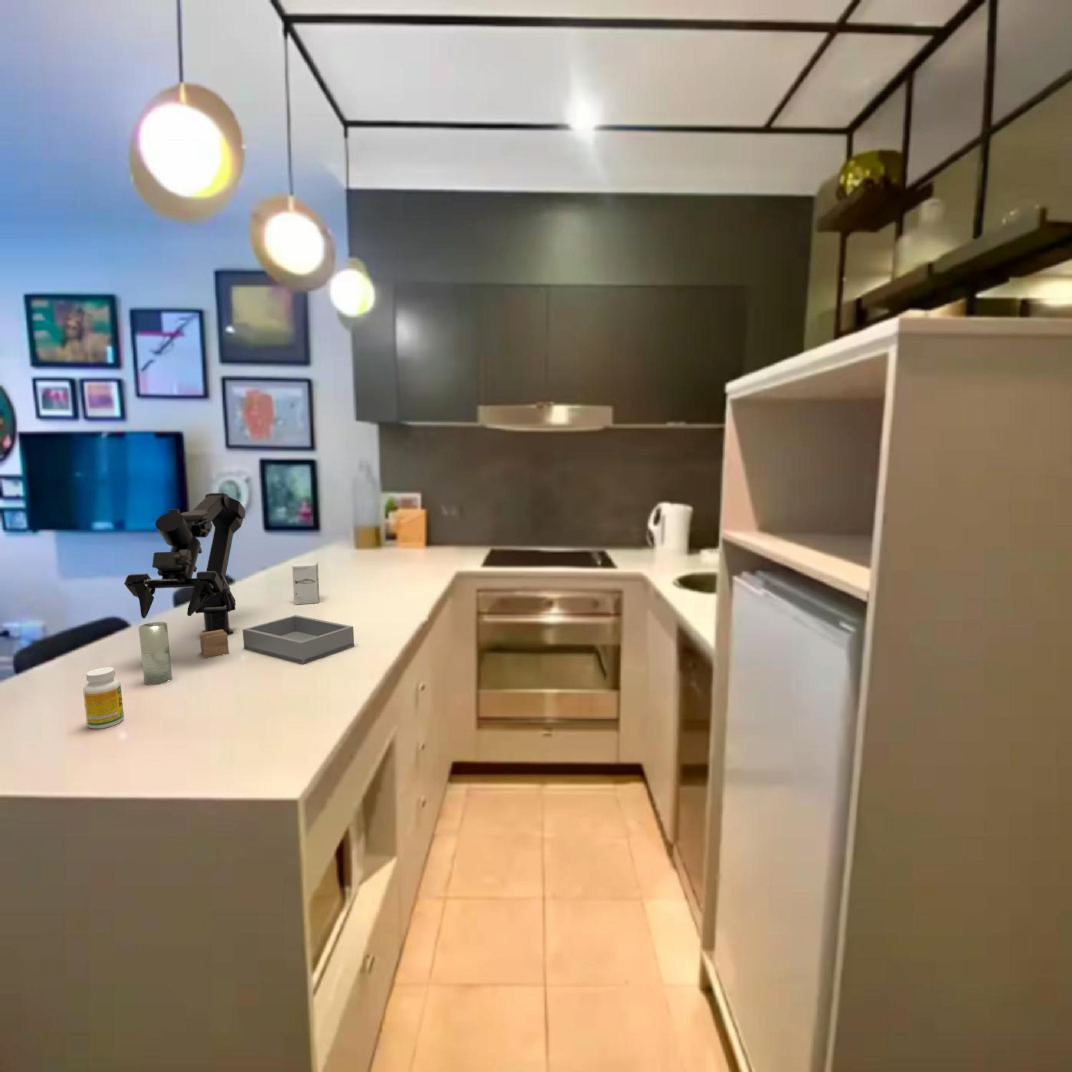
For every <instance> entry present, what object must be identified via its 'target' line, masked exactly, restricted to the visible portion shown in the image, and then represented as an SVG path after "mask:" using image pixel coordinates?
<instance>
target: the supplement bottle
mask: <svg viewBox="0 0 1072 1072" xmlns="http://www.w3.org/2000/svg"><path fill="white" fill-rule="evenodd" d="M115 676H116V671H115V668H114V667H111V666H110V667H108V666H106V667H100V668H96V669H92V670H90V671H87V672H86V681H87V683H86V684H85V685H84V687H83V689H82V690H83V701H84V709H85V710H84V711H85V718H86V725H87V728H89V729H94V730H95V729H97V730H99V729H105V728H110V727H113V726H115V725H117V724H119V723H121V722H122V721H123V720H124V718H125V716H124V715H125V714H124V704H123V696H122V695H123V694H122V686H121V685H122V684H121V682H120V680H119V679H117V678H115Z"/></svg>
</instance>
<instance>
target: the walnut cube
mask: <svg viewBox="0 0 1072 1072" xmlns="http://www.w3.org/2000/svg"><path fill="white" fill-rule="evenodd" d="M199 642H200V651H201V655H202V654H203V655H202V656H203V658H205V659H209V658H208V657H210V658H215V657H218V656H224V655H223V654H225V655H229V653H230V651H229V650H230V649H229V640H228V634H227V633H226V632H225V631H224V630H223V629H221V630H216V631H210V632H204V633H202V632H199Z"/></svg>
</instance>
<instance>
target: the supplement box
mask: <svg viewBox="0 0 1072 1072" xmlns="http://www.w3.org/2000/svg"><path fill="white" fill-rule="evenodd" d="M291 567H292V583H293V584H292V587H293V603H294V604H293V605H294V606H296V605H307V604H309V605H310V604H319V602H320V601H319V600H320V585H319V584H320V581H319V580H320V579H319V562H318V561H302V562H294V563H293V565H292V566H291Z"/></svg>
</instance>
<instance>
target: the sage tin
mask: <svg viewBox="0 0 1072 1072" xmlns="http://www.w3.org/2000/svg"><path fill="white" fill-rule="evenodd" d="M138 635H139V644H140V654H141V663H142V665H141V666H142V672H143V673H142V674H143V682H144V683H145V685H146V684H157V685H162V684H165V683H168V682H169V681H168V680H170V681H171V680H172V679H173V672H172V662H171V661H172V660H171V653H170V652H171V651H170V643H169V630H168V622H165V621H157V622H155V621H154V622H149V623H143V624H142V625H139V626H138ZM167 681H168V682H167ZM164 682H165V683H164ZM144 683H143V684H144ZM161 683H162V684H161Z"/></svg>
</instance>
